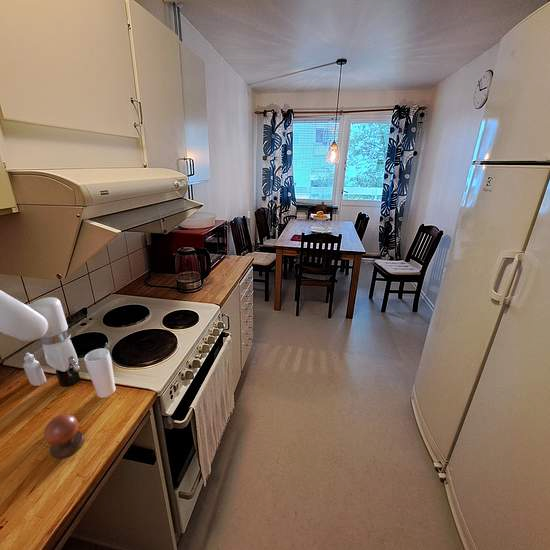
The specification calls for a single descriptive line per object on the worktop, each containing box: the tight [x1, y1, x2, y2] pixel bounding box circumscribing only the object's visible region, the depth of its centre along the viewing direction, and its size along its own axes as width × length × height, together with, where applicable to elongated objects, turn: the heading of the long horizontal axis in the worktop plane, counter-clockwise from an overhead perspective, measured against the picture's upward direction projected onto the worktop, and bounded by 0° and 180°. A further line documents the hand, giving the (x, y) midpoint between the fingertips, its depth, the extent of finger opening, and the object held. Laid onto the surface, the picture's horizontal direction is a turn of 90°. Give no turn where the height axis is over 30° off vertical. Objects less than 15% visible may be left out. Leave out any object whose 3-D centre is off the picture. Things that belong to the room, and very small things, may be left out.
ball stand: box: [43, 413, 85, 460], centre depth 74 cm, size 7×7×10 cm
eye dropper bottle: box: [22, 352, 47, 387], centre depth 94 cm, size 4×6×12 cm
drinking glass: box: [83, 347, 117, 399], centre depth 90 cm, size 7×7×15 cm
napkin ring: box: [55, 365, 73, 388], centre depth 96 cm, size 6×6×5 cm
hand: (69, 379), depth 97 cm, fingers closed on napkin ring, 5 cm apart
